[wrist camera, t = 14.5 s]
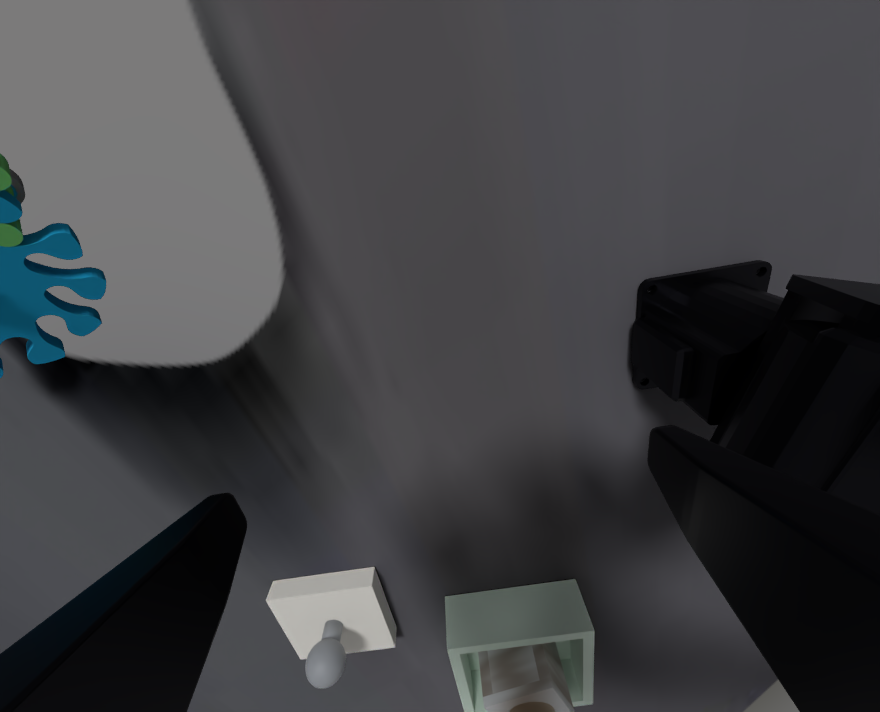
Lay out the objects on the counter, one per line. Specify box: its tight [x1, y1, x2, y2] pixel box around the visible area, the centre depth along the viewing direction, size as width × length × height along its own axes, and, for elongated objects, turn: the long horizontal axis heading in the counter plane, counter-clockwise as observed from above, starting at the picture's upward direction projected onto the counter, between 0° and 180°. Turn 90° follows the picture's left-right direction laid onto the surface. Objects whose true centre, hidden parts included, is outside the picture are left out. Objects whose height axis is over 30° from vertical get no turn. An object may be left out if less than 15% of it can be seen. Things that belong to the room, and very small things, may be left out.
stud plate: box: [266, 567, 397, 689], centre depth 28 cm, size 8×8×5 cm
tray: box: [445, 579, 595, 712], centre depth 31 cm, size 11×11×4 cm
